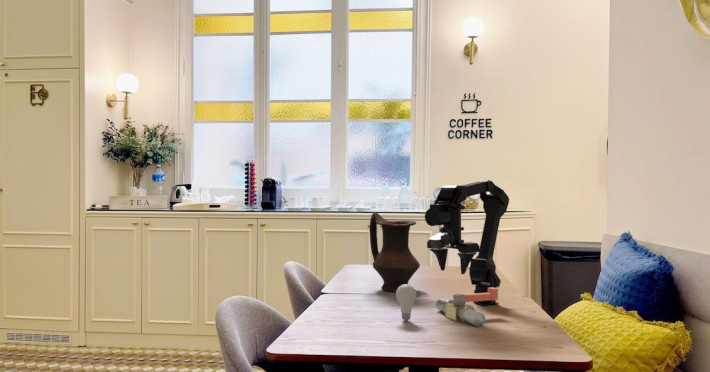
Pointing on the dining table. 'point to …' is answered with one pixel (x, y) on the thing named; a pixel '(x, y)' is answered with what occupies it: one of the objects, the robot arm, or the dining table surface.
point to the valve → (460, 312)
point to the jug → (392, 252)
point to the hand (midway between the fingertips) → (452, 272)
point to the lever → (475, 297)
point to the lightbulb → (406, 299)
